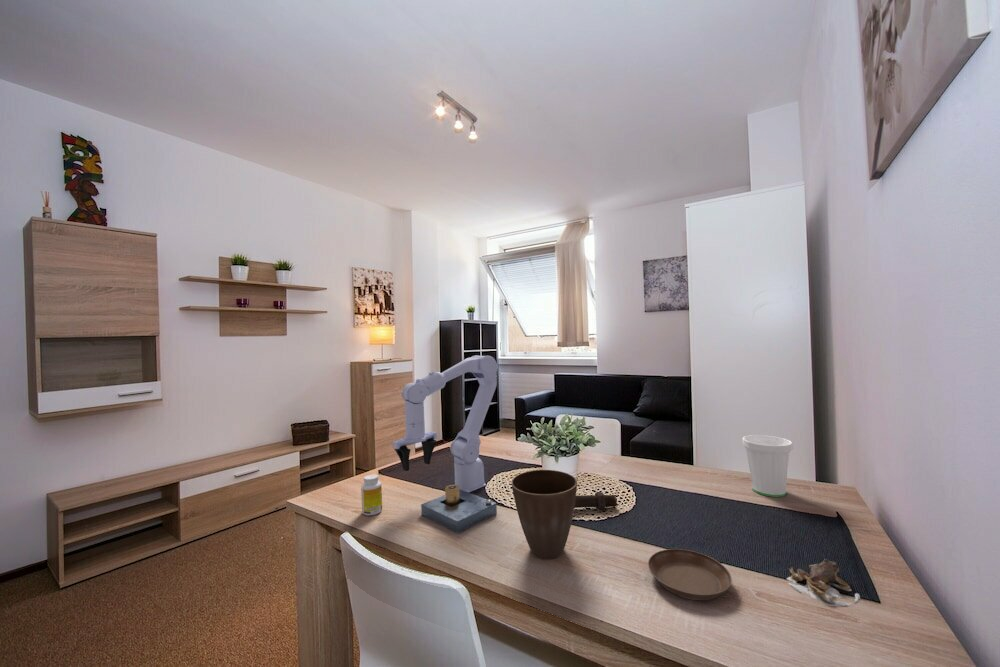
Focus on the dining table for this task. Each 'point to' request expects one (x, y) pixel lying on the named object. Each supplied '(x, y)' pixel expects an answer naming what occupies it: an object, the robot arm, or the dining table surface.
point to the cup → (768, 463)
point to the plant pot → (545, 509)
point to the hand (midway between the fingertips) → (416, 466)
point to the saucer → (689, 574)
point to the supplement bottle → (371, 495)
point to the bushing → (452, 495)
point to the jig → (459, 511)
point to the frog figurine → (821, 583)
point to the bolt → (596, 501)
